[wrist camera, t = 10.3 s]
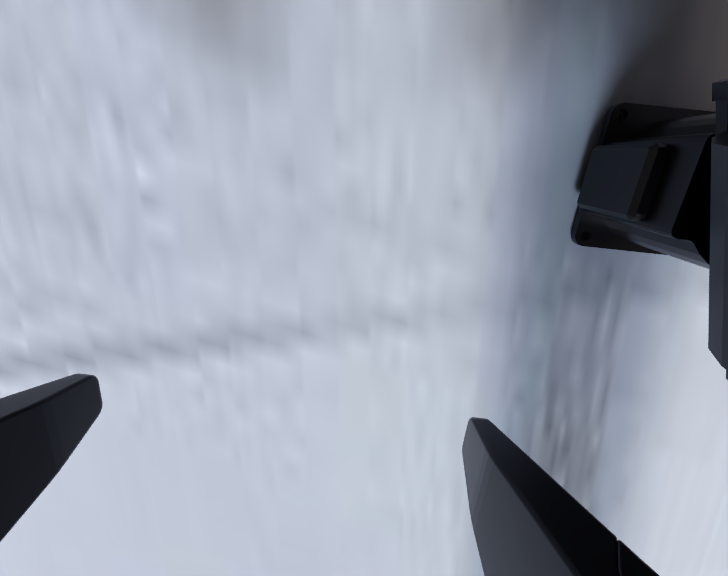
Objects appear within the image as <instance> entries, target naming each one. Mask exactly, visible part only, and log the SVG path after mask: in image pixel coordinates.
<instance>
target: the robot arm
mask: <svg viewBox="0 0 728 576" xmlns="http://www.w3.org/2000/svg"><path fill="white" fill-rule="evenodd" d="M712 101H716V112H711V111H701V110H691V109H681V108H671V107H661V106H651V105H641V104H631V103H621V104H617V105H615V106H613V107H611V108H610V109H609V110H608V112H607V114H606V117H605V120H604V124H603V127H602V130H601V134H600V137H599V141H598V144H597V147H596V148H595V149H594V150H593V151H592V153H591V156H590V160H589V163H588V166H587V170H586V173H585V177H584V180H583V184H582V187H581V191H580V194H579V198H578V201H577V203H578V205H579V209H578V213H577V216H576V220H575V223H574V226H573V230H572V233H571V238H572V241H573V242H574V243H576V244H578V245H581V246H588V247H597V248H607V249H616V250H626V251H635V252H645V253H654V254H664V255H670V256H672V257H675V258H678V259H681V260H684V261H687V262H690V263H693V264H696V265H699V266H702V267H705V268H707V269H710V272H709V342H708V348H709V350H710V351H711V352H712V354H713V355H714V356H715V358H716V359H717V361H718V362H719V363H720V365H721V366H722V367H724V368H725V369H726V379H727V380H728V78H727V79H724V80H720V81H717V82H714V83H712ZM618 111H622V113H623V117H622V119H621V120H620V121H618V120H617V118H616V115H617V113H618ZM584 231H586V237H585V238H583V239H580V235H581V233H582V232H584ZM101 409H102V398H101V393H100V387H99V381H98V379H97V377H96V376H94V375H88V374H74V375H71V376H68V377H65V378H62V379H58V380H55V381H52V382H49V383H46V384H43V385H40V386H37V387H34V388H31V389H28V390H25V391H22V392H19V393H16V394H13V395H10V396H7V397H4V398H1V399H0V542H1V541H2V539H3V538H4V537H5V536H6V535H7V533H8V532H9V531H10V530H11V529H12V527H13V526H14V525H15V524H16V523H17V521H18V520H19V519H20V518H21V517H22V515H23V514H24V513H25V512H26V511H27V509H28V508H29V507H30V506H31V505H32V504H33V502H34V501H35V500H36V499H37V498H38V496H39V495H40V494H41V493H42V492H43V490H44V489H45V488H46V487H47V486H48V484H49V483H50V482H51V481H52V480H53V478H54V477H55V476H56V475H57V473H58V472H59V471H60V469H61V468H62V467H63V465H64V464H65V462H66V461H67V460H68V458H69V457H70V455H71V454H72V453H73V451H74V450H75V448H76V447H77V445H78V444H79V443H80V441H81V440H82V438H83V437H84V435H85V434H86V433H87V431H88V430H89V428H90V427H91V425H92V424H93V423H94V421H95V420H96V418H97V417H98V415H99V414H100V412H101ZM462 454H463V462H464V470H465V477H466V485H467V492H468V500H469V508H470V514H471V521H472V525H473V530H474V534H475V538H476V542H477V547H478V551H479V555H480V559H481V563H482V567H483V571H484V575H485V576H659V575H658V574H657V573H656V572H655V571H654V570H653V569H651V568H650V567H649V566H648V565H647V564H646V563H645V562H644V561H642V560H641V559H640V558H639V557H638V556H637V555H636V554H635V553H634V552H633V551H631V550H630V549H629V548H628V547H627V546H626V545H625V544H624V543H623V542H622V541H620V540H618V541H617V537H616V536H615V535H614V534H613V533H612V532H611V531H609V530H608V529H607V528H606V527H605V526H604V525H603V524H602V523H601V522H600V521H599V520H597V519H596V518H595V517H594V516H593V515H592V514H591V513H590V512H589V511H588V510H587V509H585V508H584V507H583V506H582V505H581V504H580V503H579V502H578V501H577V500H576V499H575V498H573V497H572V496H571V495H570V494H569V493H568V492H567V491H566V490H565V489H564V488H563V487H561V486H560V485H559V484H558V483H557V482H556V481H555V480H554V479H553V478H552V477H551V476H549V475H548V474H547V473H546V472H545V471H544V470H543V469H542V468H541V467H540V466H539V465H537V464H536V463H535V462H534V461H533V460H532V459H531V458H530V457H529V456H528V455H527V454H525V453H524V452H523V451H522V450H521V449H520V448H519V447H518V446H517V445H516V444H515V443H513V442H512V441H511V440H510V439H509V438H508V437H507V436H506V435H505V434H504V433H503V432H501V431H500V430H499V429H498V428H497V427H496V426H495V425H494V424H493V423H492V422H491V421H489V420H488V419H484V418H475V417H472V418H470V419H469V421H468V425H467V429H466V433H465V437H464V442H463V448H462Z"/></svg>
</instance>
